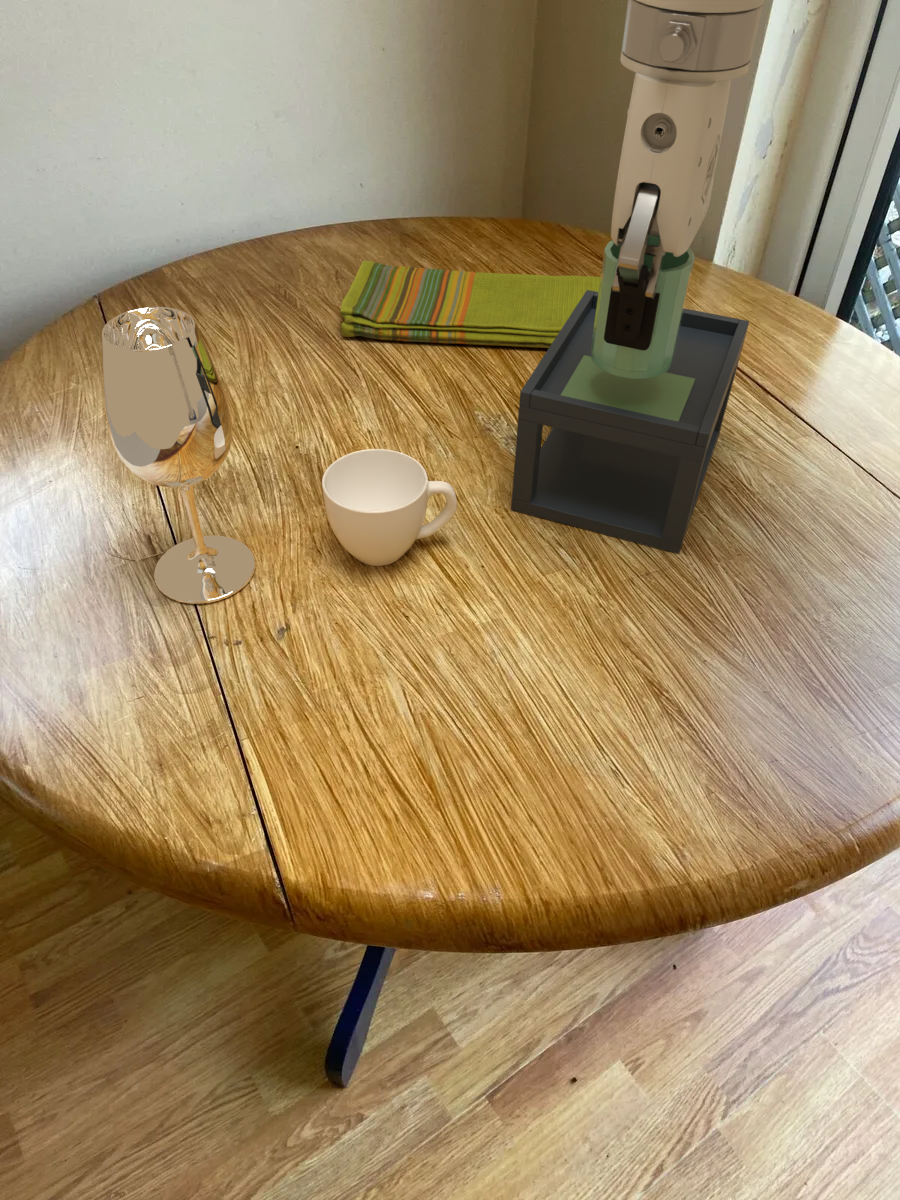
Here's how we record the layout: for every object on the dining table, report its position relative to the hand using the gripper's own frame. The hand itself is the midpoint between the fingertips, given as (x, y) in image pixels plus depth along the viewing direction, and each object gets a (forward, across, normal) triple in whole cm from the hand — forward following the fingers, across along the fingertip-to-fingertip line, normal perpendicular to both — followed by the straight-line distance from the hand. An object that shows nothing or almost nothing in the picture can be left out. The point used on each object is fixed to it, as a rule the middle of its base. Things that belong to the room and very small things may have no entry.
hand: (638, 320), depth 65 cm
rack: (+16, +4, 0) cm, 16 cm away
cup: (+16, -13, +14) cm, 25 cm away
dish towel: (+16, +27, +18) cm, 36 cm away
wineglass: (+16, -21, +26) cm, 37 cm away
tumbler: (+3, 0, 0) cm, 3 cm away
